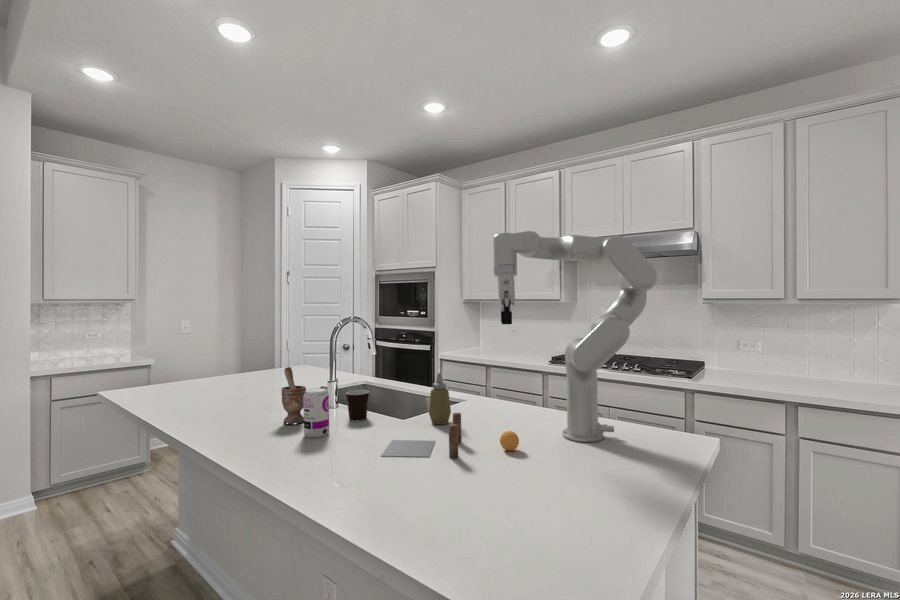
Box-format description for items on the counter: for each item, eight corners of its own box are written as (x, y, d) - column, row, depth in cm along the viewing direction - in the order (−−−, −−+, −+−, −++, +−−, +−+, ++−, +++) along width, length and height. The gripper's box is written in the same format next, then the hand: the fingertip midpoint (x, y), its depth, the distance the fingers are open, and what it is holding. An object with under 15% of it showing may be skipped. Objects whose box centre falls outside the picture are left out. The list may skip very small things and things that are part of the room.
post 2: (458, 455, 125) (458, 424, 125) (458, 458, 122) (457, 426, 122) (449, 455, 125) (449, 423, 125) (448, 458, 122) (448, 426, 123)
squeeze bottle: (441, 427, 153) (441, 376, 153) (424, 423, 158) (423, 374, 158) (455, 421, 159) (454, 372, 159) (438, 418, 164) (437, 370, 164)
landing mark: (435, 441, 138) (435, 440, 138) (429, 457, 124) (429, 456, 124) (392, 440, 139) (392, 440, 139) (380, 456, 125) (380, 455, 125)
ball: (518, 447, 131) (518, 428, 131) (519, 453, 125) (519, 434, 125) (499, 446, 132) (499, 428, 132) (500, 453, 126) (499, 434, 126)
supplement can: (332, 431, 150) (332, 387, 150) (323, 438, 142) (322, 393, 142) (310, 430, 151) (309, 387, 151) (299, 438, 143) (299, 392, 143)
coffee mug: (364, 422, 161) (363, 395, 161) (342, 421, 163) (342, 394, 163) (375, 413, 172) (375, 388, 172) (355, 413, 174) (355, 388, 174)
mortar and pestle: (271, 422, 162) (270, 369, 162) (291, 417, 170) (290, 366, 170) (291, 426, 156) (291, 371, 156) (311, 421, 164) (310, 368, 164)
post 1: (461, 441, 137) (461, 412, 137) (461, 443, 135) (460, 414, 135) (453, 440, 138) (453, 412, 138) (452, 443, 135) (452, 414, 135)
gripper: (518, 269, 133) (519, 324, 133) (515, 272, 151) (516, 322, 151) (494, 269, 134) (495, 325, 134) (493, 273, 151) (494, 322, 151)
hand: (506, 323), depth 142 cm, fingers open, 9 cm apart
